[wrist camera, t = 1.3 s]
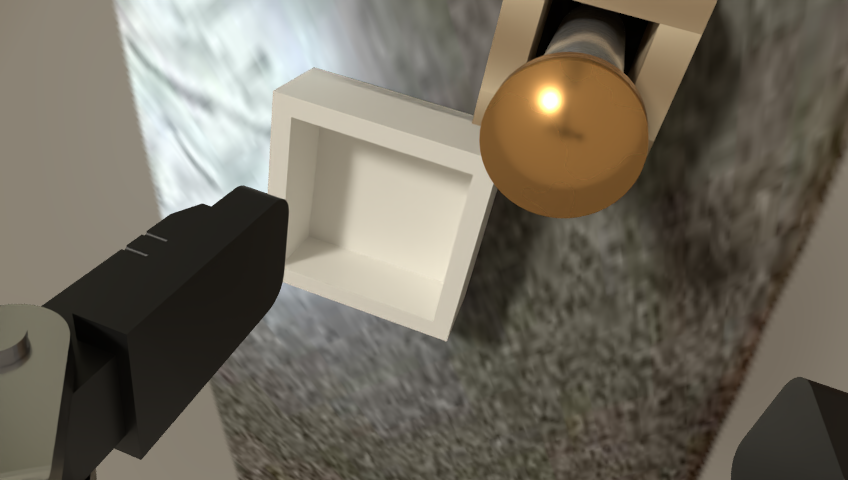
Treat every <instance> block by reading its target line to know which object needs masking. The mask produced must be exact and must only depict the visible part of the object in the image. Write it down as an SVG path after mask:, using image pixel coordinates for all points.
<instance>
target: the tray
mask: <svg viewBox="0 0 848 480" xmlns="http://www.w3.org/2000/svg"><path fill="white" fill-rule="evenodd" d="M473 117H474V115H470V114H467V113H464V112H460V111H457V110H454V109H451V108H447V107H444V106H441V105H437V104H434V103H431V102H427V101H424V100H421V99H418V98H414V97H411V96H408V95H404V94H401V93H398V92H394V91H391V90H388V89H385V88H381V87H378V86H375V85H371V84H368V83H365V82H361V81H358V80H355V79H352V78H348V77H345V76H342V75H338V74H335V73H332V72H328V71H325V70H322V69H319V68H315V67H313V68H312V69H310V70H308V71H307V72H305V73H303V74H301V75H300V76H298V77H296V78H295V79H293V80H291V81H289V82H288V83H286V84H284V85H282V86H281V87H279V88H277V89H276V90H274V91H273V103H272V122H271V142H270V161H269V180H268V194H270V195H273V196H276V197H279V198H282V199H285V200H286V201H287V203H288V206H289V220H288V232H287V245H286V257H285V270H284V278H283V282H284V283H287V284H290V285H292V286H295V287H298V288H301V289H303V290H306V291H309V292H312V293H314V294H317V295H320V296H323V297H326V298H328V299H331V300H334V301H337V302H339V303H342V304H345V305H348V306H350V307H353V308H356V309H359V310H361V311H364V312H367V313H370V314H373V315H375V316H378V317H381V318H384V319H386V320H389V321H392V322H395V323H397V324H400V325H403V326H406V327H408V328H411V329H414V330H417V331H420V332H422V333H425V334H428V335H431V336H433V337H436V338H439V339H442V340H444V341H447V339H448V337H449V335H450V332H451V330H452V327H453V325H454V322H455V320H456V317H457V315H458V312H459V310H460V307H461V305H462V303H463V300H464V298H465V295H466V292H467V288H468V285H469V282H470V278H471V275H472V272H473V269H474V265H475V262H476V259H477V255H478V252H479V249H480V245H481V242H482V239H483V236H484V232H485V229H486V226H487V222H488V219H489V216H490V212H491V209H492V206H493V203H494V199H495V196H496V193H497V189H498V188H497V187H496V186H495V185H494V183H493V182H492V180H491V179H490V177H489V175H488V173H487V171H486V169H485V167H484V164H483V161H482V157H481V153H480V143H479V137H480V128H481V126H479V125H475V124H472V121H473Z"/></svg>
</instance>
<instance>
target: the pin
mask: <svg viewBox="0 0 848 480" xmlns="http://www.w3.org/2000/svg"><path fill="white" fill-rule="evenodd" d="M625 39H626V32H625V26H624V23H623V21H622V19H621V17H620V16H619V15H618V13H617V12H615V11H611V10H607V9H604V8H600V7H596V6H593V5H589V4H583V5H580V6H578V7H576V8H574V9H573V10H571V11H570V12H569V13H568V14H567V15H566V16H565V17H564V18H563V20H562V21H561V23H560V25H559V27H558V29H557V31H556V33H555V34H554V36H553V38H552V40H551V42H550V44H549V46H548V48H547V50H546V52H545V54H544V56H541V57H537V58H535V59H533V60H531V61H529V62H527V63H525V64H524V65H522V66H520V67H519V68H517V69H516V70H515V71H514V72H513V73H512V74H510V75H509V76H508V77H507V79H506V80H505V81H504V82H503V83H502V84H501V86H500V87H499V89H498V90H497V92H496V93H495V95H494V96H493V98H492V99H491V101H490V103H489V105H488V107H487V109H486V111H485V113H484V116H483V119H482V122H481V128H480V137H479V143H480V153H481V157H482V161H483V164H484V167H485V169H486V171H487V173H488V175H489V177H490V179H491V180H492V182H493V183H494V185H495V186H496V187H497V188H498V189H499V191H500V192H501V193H502V194H503V195H504V196H506V197H507V198H508V199H509V200H510V201H512V202H513V203H515V204H516V205H518V206H519V207H521V208H523V209H525V210H527V211H530V212H532V213H535V214H538V215H542V216H546V217H553V218H575V217H581V216H586V215H589V214H592V213H595V212H598V211H600V210H602V209H604V208H607V207H608V206H610V205H611V204H613V203H615V202H616V201H617V200H618V199H620V198H621V197H622V196H623V195H624V194H625V193H626V192H627V191H628V190H629V189H630V188H631V187H632V186H633V184H634V183H635V181H636V180H637V178H638V177H639V175H640V173H641V171H642V169H643V166H644V163H645V161H646V157H647V152H648V142H649V136H648V120H647V113H646V109H645V105H644V102H643V100H642V97H641V95H640V93H639V91H638V90H637V88H636V86H635V85H634V84H633V82H632V81H631V80H630V79H629V77H628V76H627V75H625V74H624V57H625Z"/></svg>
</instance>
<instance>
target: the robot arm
mask: <svg viewBox="0 0 848 480" xmlns="http://www.w3.org/2000/svg"><path fill="white" fill-rule="evenodd" d="M288 220H289V206H288V203H287V201H286V200H285V199H282V198H279V197H276V196H273V195H270V194H267V193H264V192H261V191H258V190H255V189H252V188H249V187H246V186H239V187H237V188H235V189H234V190H233V191H231V192H230V193H229V194H227V195H226V196H225V197H223V198H222V199H221V200H219V201H218V202H217V203H216V204H214V205H213V206H212V207H211V206H208V205H205V204H200V205H197V206H194V207H191V208H188V209H185V210H182V211H179V212H176V213H173V214H170V215H169V216H167V217H166V218H165V219H163V220H162V221H160V222H159V223H158V224H156V225H155V226H153V227H152V228H150V229H149V230H148V231H147V233H146V235H145V236H144V235H141V236H139V237H138V238H137V239H135V240H134V241H132V242H131V243H129V244H128V245H127V247H126V249H125V250H120V251H118V252H117V253H115V254H114V255H113V256H111V257H110V258H108V259H107V260H106V261H104V262H103V263H101V264H100V265H99V266H97V267H96V268H94V269H93V270H92V271H90V272H89V273H88V274H86V275H85V276H83V277H82V278H80V279H79V280H78V281H76V282H75V283H73V284H72V285H70V286H69V287H68V288H66V289H65V290H63V291H62V292H61V293H59V294H58V295H57V296H55V297H54V298H52V299H51V300H49V301H48V302H47V303H45V304H44V305H42V306H35V305H28V304H8V305H0V480H96V479H97V478H96V467H97V466H98V465H99V464H100V463H101V462H102V460H103V459H104V458H105V457H106V456H107V455H108V454H109V453H110V452H111V451H112V450H113V449H114V448H115V449H117V450H119V451H122V452H124V453H127V454H129V455H131V456H133V457H136V458H138V459H140V460H141V459H142V458H143V457H144V456H145V455H146V454H147V452H148V451H149V450H150V449H151V447H153V445H154V444H155V443H156V442H157V441H158V440H159V438H160V437H161V436H162V435H163V434H164V433H165V431H166V430H167V429H168V428H169V427H170V425H171V424H172V423H173V422H174V421H175V420H176V419H177V417H178V416H179V415H180V414H181V413H182V412H183V410H184V409H185V408H186V407H187V406H188V404H189V403H190V402H191V401H192V400H193V399H194V397H195V396H196V395H197V394H198V393H199V392H200V390H201V389H202V388H203V387H204V385H206V383H207V382H208V381H209V380H210V379H211V378H212V376H213V375H214V374H215V373H216V372H217V371H218V369H219V368H220V367H221V366H222V365H223V364H224V362H225V361H226V360H227V359H228V358H229V357H230V355H231V354H232V353H233V352H234V351H235V350H236V348H237V347H238V346H239V345H240V344H241V343H242V341H243V340H244V339H245V338H246V337H247V335H248V334H249V333H250V332H251V331H252V330H253V328H254V327H255V326H256V325H257V324H258V323H259V321H260V320H261V319H262V318H263V317H264V316H265V314H266V313H267V312H268V311H269V310H270V308H271V307H272V305H273V304H274V302H275V300H276V298H277V296H278V294H279V292H280V289H281V286H282V282H283V278H284V270H285V257H286V245H287V232H288ZM731 480H848V393H846V392H843V391H840V390H837V389H834V388H831V387H829V386H826V385H823V384H819V383H817V382H814V381H811V380H808V379H805V378H802V377H797V378H794V379H792V380H790V381H789V382H788V383H787V384H786V385H785V386H784V387H783V389H782V390H781V391H780V392H779V394H778V395H777V396H776V398H775V399H774V400H773V401H772V403H771V404H770V405H769V407H768V408H767V409H766V410H765V412H764V413H763V414H762V416H761V417H760V418H759V419H758V421H757V422H756V423H755V425H754V426H753V427H752V428H751V430H750V431H749V432H748V433H747V435H746V436H745V437H744V439H743V440H742V441H741V443H740V444H739V446H738V449H737V451H736V453H735V456H734V460H733V464H732V471H731Z"/></svg>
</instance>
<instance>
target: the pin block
mask: <svg viewBox="0 0 848 480" xmlns="http://www.w3.org/2000/svg"><path fill="white" fill-rule="evenodd" d="M574 1H578V2H581V3H585V4H589V5H593V6H596V7H600V8H604V9H607V10H611V11H615V12H619V13H622V14H626V15H630V16H634V17H637V18H641V19H645V20H648V21H649V22H648V25H647V27H646V30H645V32H644V35H643V37H642V40H641V42H640V45H639V47H638V50H637V52H636V55H635V57H634V60H633V62H632V65H631V67H630V70H629V73H628V75H627V76H628V77H629V79H630V80H631V81H632V82H633V84H634V85H635V86H636V88H637V90H638V91H639V93H640V95H641V97H642V100H643V102H644V105H645V109H646V113H647V120H648V136H649V142H648V152H647V156H648V154H649V151H650V149H651V147H652V145H653V142H654V140H655V138H656V136H657V134H658V131H659V129H660V127H661V125H662V122H663V120H664V118H665V116H666V114H667V111H668V109H669V107H670V105H671V103H672V100H673V98H674V96H675V94H676V91H677V89H678V87H679V85H680V83H681V80H682V78H683V76H684V74H685V71H686V69H687V67H688V65H689V63H690V60H691V58H692V56H693V54H694V51H695V49H696V47H697V45H698V43H699V40H700V38H701V36H702V34H703V31H704V29H705V27H706V25H707V23H708V20H709V18H710V16H711V14H712V11H713V9H714V7H715V5H716V3H717V0H574ZM551 3H552V0H503V4H502V7H501V11H500V15H499V19H498V23H497V27H496V31H495V35H494V39H493V43H492V46H491V50H490V54H489V58H488V62H487V66H486V70H485V74H484V78H483V82H482V85H481V89H480V93H479V97H478V101H477V105H476V109H475V113H474V117H473V121H472V124H475V125H479V126H481V122H482V119H483V116H484V113H485V111H486V109H487V107H488V105H489V103H490V101H491V99H492V98H493V96H494V95H495V93H496V92H497V90H498V89H499V87H500V86H501V84H502V83H503V82H504V81H505V80H506V79H507V77H508V76H509V75H510V74H512V73H513V72H514V71H515V70H516V69H517V68H519V67H520V66H522V65H524V64H525V63H527V62H529V61H531V60H533V59H535V56H536V53H537V50H538V46H539V43H540V40H541V37H542V33H543V30H544V27H545V23H546V20H547V17H548V13H549V10H550V7H551ZM646 158H647V157H646Z"/></svg>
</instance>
